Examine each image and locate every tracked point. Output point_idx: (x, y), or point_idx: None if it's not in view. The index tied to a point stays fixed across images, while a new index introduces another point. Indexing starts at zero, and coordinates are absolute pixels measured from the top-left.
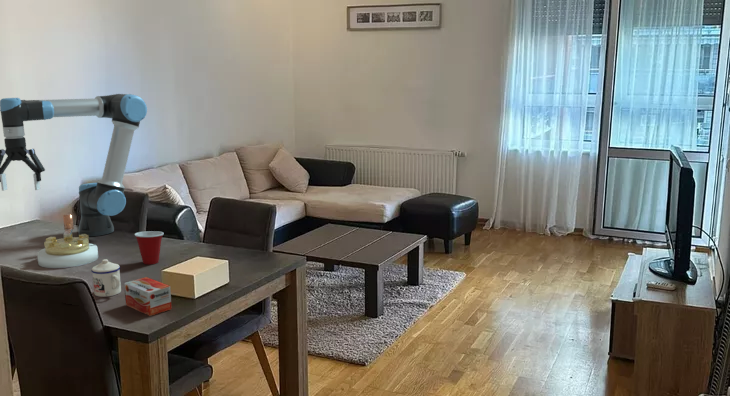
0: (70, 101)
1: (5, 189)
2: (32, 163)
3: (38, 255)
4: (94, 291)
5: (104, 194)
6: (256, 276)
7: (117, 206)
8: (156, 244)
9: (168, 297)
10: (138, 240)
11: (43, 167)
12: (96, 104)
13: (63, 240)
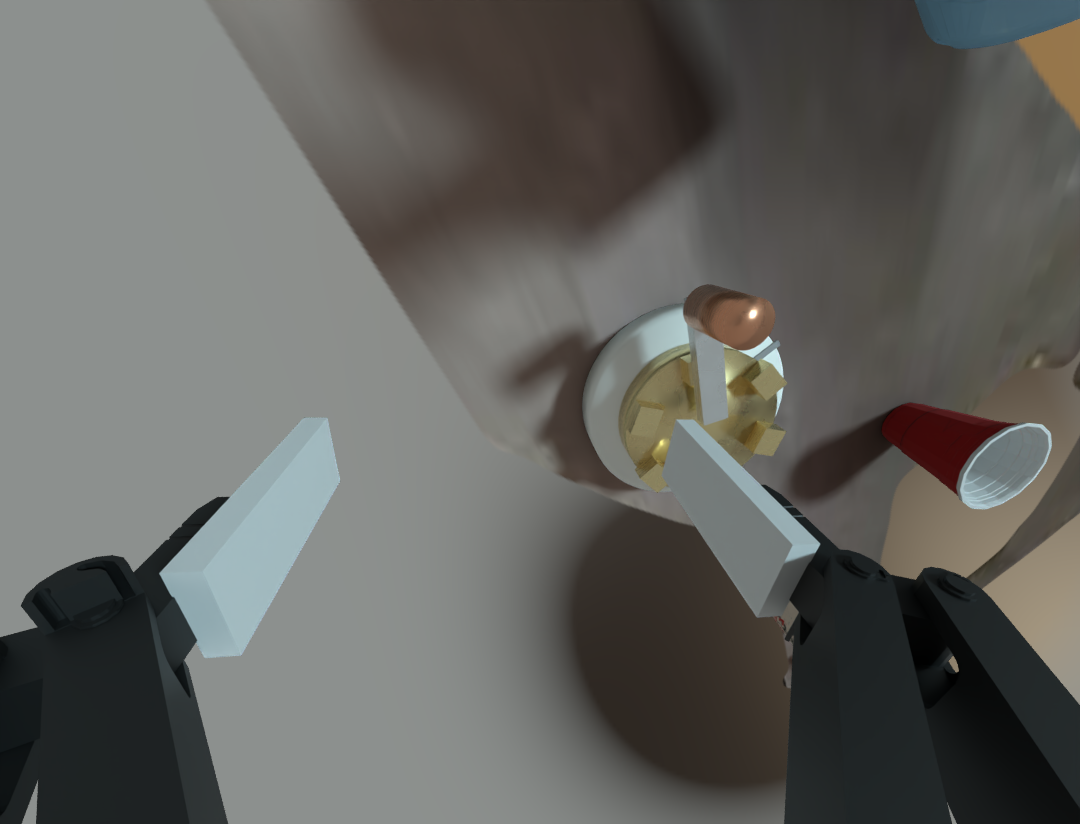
0: None
1: (333, 455)
2: (912, 783)
3: (607, 468)
4: (774, 619)
5: None
6: (1071, 509)
7: None
8: (979, 468)
9: None
10: (947, 484)
11: (1008, 634)
12: None
13: (684, 398)
